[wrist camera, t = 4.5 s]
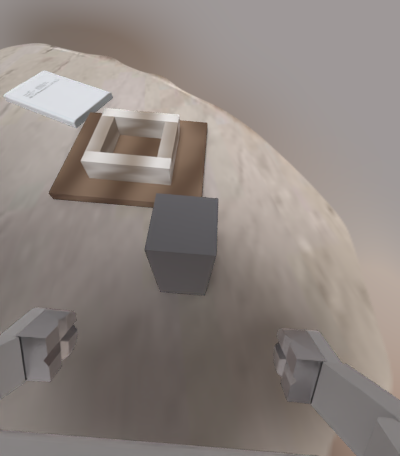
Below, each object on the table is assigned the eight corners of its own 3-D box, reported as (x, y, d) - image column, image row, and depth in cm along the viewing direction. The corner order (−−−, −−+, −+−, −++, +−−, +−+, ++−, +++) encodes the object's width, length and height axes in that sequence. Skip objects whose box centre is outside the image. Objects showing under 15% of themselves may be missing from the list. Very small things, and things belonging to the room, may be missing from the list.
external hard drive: (78, 132, 31) (8, 105, 33) (114, 101, 35) (50, 79, 37) (73, 121, 30) (1, 93, 32) (111, 91, 34) (44, 68, 36)
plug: (160, 291, 20) (144, 249, 13) (166, 251, 22) (156, 193, 15) (204, 295, 20) (216, 255, 13) (206, 254, 22) (218, 198, 15)
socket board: (53, 198, 25) (35, 176, 22) (92, 118, 32) (82, 93, 29) (200, 211, 25) (202, 191, 22) (206, 129, 32) (209, 105, 29)
